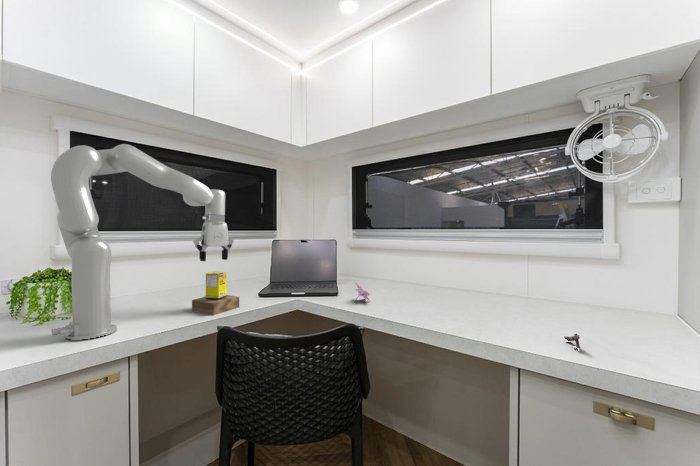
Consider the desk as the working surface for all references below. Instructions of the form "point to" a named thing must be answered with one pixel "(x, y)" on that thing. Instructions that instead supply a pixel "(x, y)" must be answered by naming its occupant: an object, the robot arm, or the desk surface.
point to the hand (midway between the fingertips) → (214, 260)
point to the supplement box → (215, 285)
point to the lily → (362, 292)
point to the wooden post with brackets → (574, 339)
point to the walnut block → (215, 305)
